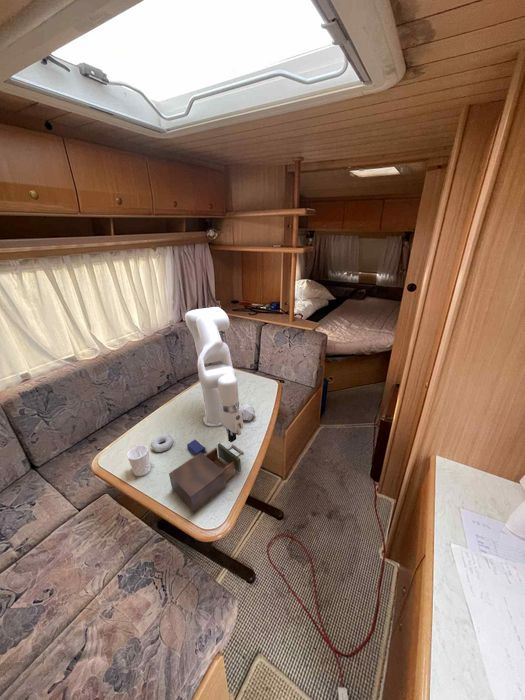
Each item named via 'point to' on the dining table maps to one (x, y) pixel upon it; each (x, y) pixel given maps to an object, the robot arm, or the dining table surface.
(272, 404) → the dining table surface
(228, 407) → the robot arm
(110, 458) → the dining table surface
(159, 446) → the donut
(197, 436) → the dining table surface
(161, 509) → the dining table surface
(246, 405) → the die
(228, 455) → the drawer
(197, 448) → the tall navy block
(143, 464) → the white cup
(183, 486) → the cabinet
